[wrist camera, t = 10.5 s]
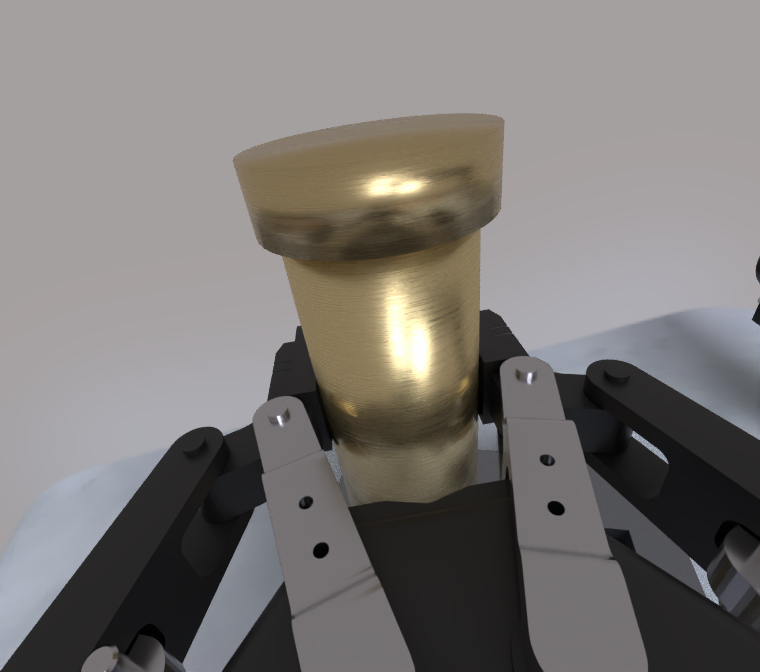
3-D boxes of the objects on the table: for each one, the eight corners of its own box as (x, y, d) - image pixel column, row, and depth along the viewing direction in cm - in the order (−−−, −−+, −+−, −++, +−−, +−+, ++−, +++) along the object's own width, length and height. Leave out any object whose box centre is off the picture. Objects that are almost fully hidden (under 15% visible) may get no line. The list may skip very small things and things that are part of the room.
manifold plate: (633, 499, 20) (648, 460, 18) (741, 802, 12) (784, 781, 10) (360, 477, 23) (351, 442, 21) (301, 705, 15) (279, 677, 13)
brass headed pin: (485, 495, 18) (497, 105, 9) (489, 632, 13) (517, 145, 5) (370, 486, 19) (291, 130, 11) (341, 609, 15) (174, 179, 6)
